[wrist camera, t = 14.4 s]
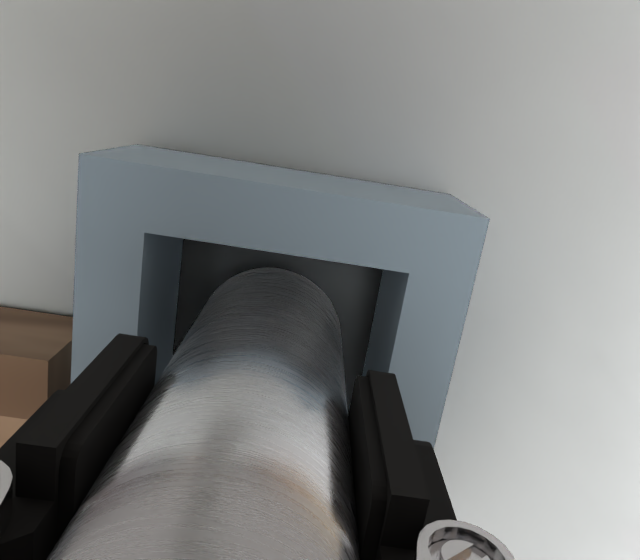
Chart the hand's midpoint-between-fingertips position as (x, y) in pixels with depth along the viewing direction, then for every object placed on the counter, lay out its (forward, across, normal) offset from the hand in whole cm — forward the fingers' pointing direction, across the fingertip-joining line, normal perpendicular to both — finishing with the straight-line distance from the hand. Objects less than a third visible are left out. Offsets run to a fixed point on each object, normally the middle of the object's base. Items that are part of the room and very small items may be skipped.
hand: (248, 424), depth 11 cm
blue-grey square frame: (+6, 0, 0) cm, 6 cm away
